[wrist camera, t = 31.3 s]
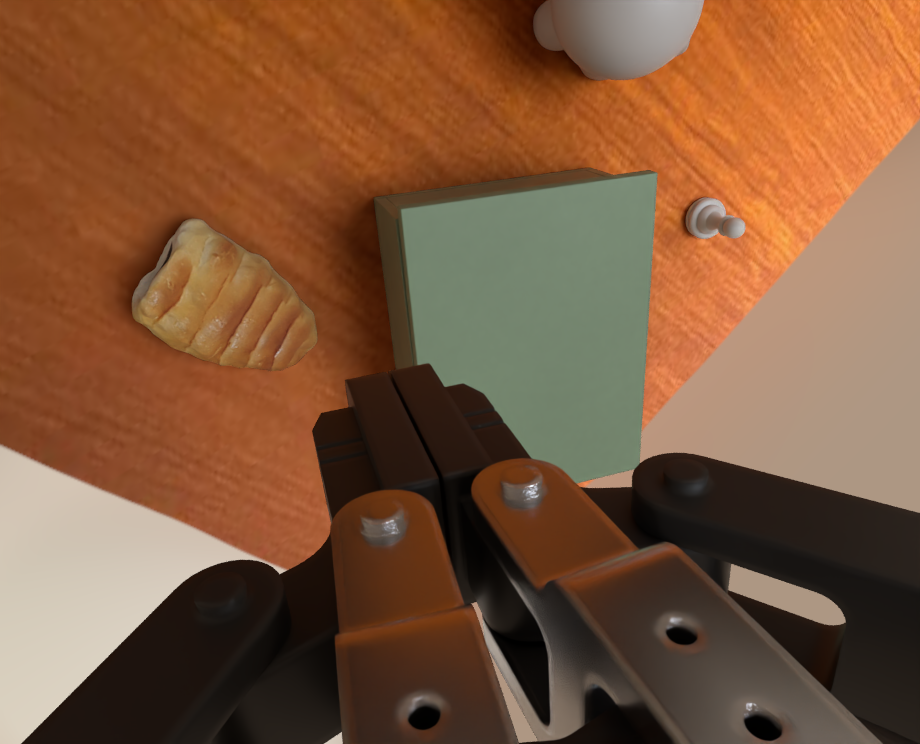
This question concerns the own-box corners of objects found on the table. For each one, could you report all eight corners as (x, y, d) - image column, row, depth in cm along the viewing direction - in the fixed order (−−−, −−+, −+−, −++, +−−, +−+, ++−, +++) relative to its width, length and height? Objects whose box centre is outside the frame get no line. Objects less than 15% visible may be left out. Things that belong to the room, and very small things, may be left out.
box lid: (396, 205, 33) (400, 209, 32) (649, 169, 36) (658, 172, 35) (430, 510, 41) (433, 519, 41) (633, 461, 44) (639, 468, 44)
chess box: (373, 197, 39) (395, 218, 34) (590, 167, 42) (641, 183, 37) (407, 459, 47) (429, 510, 41) (590, 418, 50) (632, 461, 44)
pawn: (695, 244, 46) (733, 260, 43) (677, 215, 45) (714, 229, 42) (725, 218, 46) (766, 231, 43) (708, 187, 45) (748, 199, 42)
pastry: (338, 294, 41) (347, 316, 37) (277, 387, 42) (281, 417, 39) (183, 204, 37) (179, 220, 33) (121, 311, 38) (110, 336, 34)
